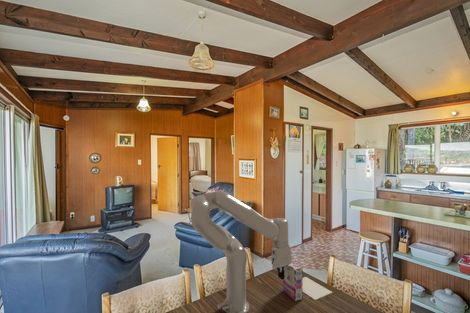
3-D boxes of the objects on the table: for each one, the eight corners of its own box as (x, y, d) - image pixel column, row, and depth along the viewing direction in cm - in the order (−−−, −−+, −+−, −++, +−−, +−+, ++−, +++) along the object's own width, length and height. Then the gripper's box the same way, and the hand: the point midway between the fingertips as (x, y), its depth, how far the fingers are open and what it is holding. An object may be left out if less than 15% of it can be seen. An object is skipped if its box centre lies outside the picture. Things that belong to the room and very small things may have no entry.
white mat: (315, 300, 127) (315, 299, 127) (289, 283, 144) (289, 282, 144) (332, 292, 134) (332, 292, 134) (306, 277, 150) (306, 276, 150)
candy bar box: (303, 299, 128) (303, 268, 128) (295, 302, 126) (295, 270, 126) (290, 288, 139) (290, 259, 138) (282, 290, 137) (282, 261, 136)
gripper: (274, 248, 121) (274, 285, 121) (297, 242, 128) (297, 277, 129) (264, 243, 127) (265, 278, 128) (287, 237, 135) (287, 271, 135)
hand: (281, 278), depth 128 cm, fingers closed
